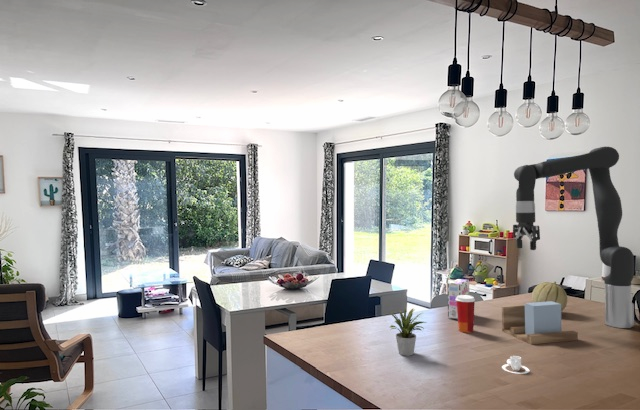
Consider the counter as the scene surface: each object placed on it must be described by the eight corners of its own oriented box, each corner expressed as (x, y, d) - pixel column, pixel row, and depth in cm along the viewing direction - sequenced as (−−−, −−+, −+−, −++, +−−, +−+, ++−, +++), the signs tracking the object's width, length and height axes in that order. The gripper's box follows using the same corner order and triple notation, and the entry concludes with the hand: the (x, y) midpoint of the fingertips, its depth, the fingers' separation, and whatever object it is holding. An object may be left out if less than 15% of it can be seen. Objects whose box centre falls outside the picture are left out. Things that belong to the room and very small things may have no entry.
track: (502, 331, 171) (501, 306, 171) (545, 327, 175) (544, 303, 175) (531, 344, 155) (530, 317, 155) (577, 340, 159) (577, 313, 159)
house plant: (393, 363, 139) (392, 313, 139) (376, 349, 152) (376, 304, 152) (432, 358, 142) (431, 310, 142) (412, 345, 156) (411, 301, 156)
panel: (552, 331, 166) (551, 301, 166) (561, 335, 161) (561, 304, 161) (525, 333, 164) (524, 303, 164) (534, 337, 159) (533, 306, 159)
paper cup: (473, 328, 176) (472, 294, 176) (478, 333, 168) (477, 298, 168) (454, 327, 177) (453, 294, 177) (458, 333, 169) (457, 298, 169)
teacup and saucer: (506, 362, 138) (506, 350, 138) (533, 368, 133) (533, 355, 133) (498, 371, 132) (498, 358, 132) (525, 377, 127) (525, 363, 127)
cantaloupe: (524, 311, 202) (524, 280, 202) (549, 308, 207) (548, 277, 207) (550, 318, 188) (549, 285, 188) (575, 315, 193) (574, 283, 193)
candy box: (460, 320, 188) (459, 283, 188) (447, 318, 191) (446, 282, 191) (470, 314, 199) (469, 279, 199) (458, 312, 202) (457, 278, 202)
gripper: (544, 211, 176) (545, 250, 176) (522, 211, 190) (522, 247, 189) (529, 212, 174) (529, 251, 174) (507, 211, 188) (507, 247, 188)
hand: (526, 249), depth 182 cm, fingers open, 8 cm apart
